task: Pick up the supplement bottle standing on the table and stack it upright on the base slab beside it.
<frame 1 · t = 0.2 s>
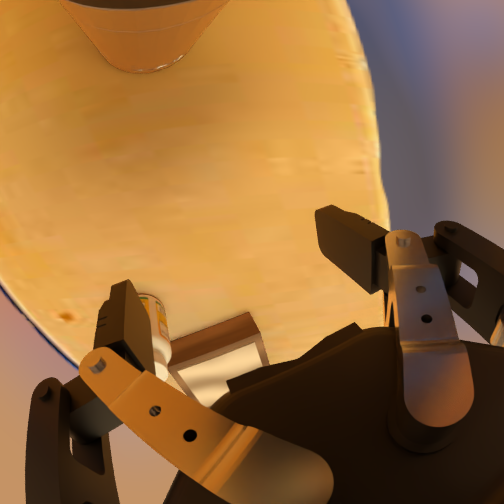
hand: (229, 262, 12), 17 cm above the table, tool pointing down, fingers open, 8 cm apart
base slab: (218, 356, 39), on the table
supplement bottle: (141, 310, 32), on the table
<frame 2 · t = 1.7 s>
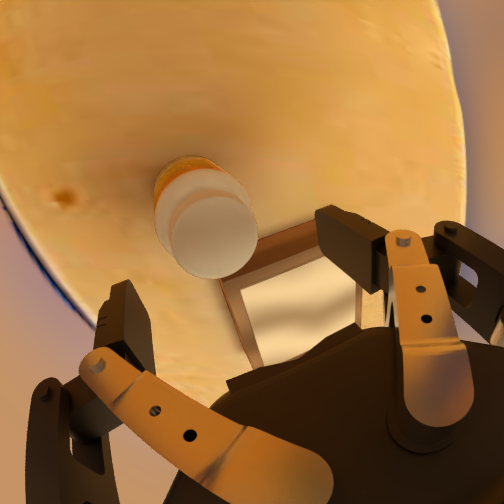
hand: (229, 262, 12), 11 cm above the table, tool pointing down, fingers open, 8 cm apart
base slab: (287, 287, 28), on the table
supplement bottle: (188, 189, 21), on the table
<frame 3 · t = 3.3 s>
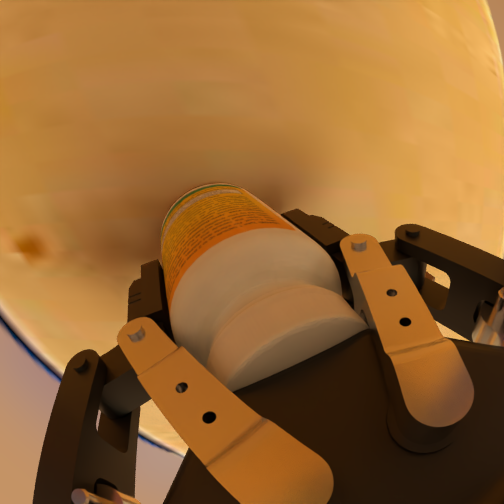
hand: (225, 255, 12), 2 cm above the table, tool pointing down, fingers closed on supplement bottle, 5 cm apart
supplement bottle: (212, 232, 14), on the table, touching gripper
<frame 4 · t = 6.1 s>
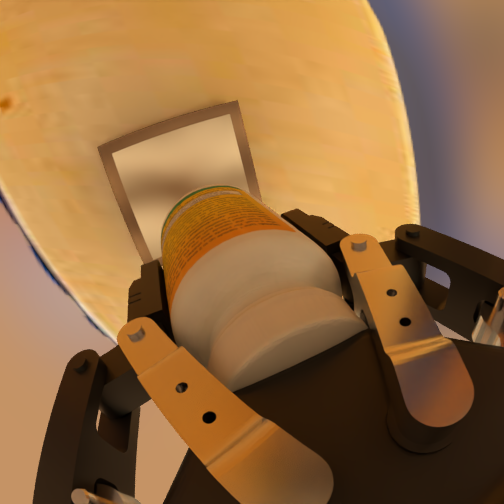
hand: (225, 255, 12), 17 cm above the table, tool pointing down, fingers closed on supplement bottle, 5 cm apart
base slab: (182, 179, 27), on the table
supplement bottle: (212, 233, 14), point 15 cm above the table, touching gripper
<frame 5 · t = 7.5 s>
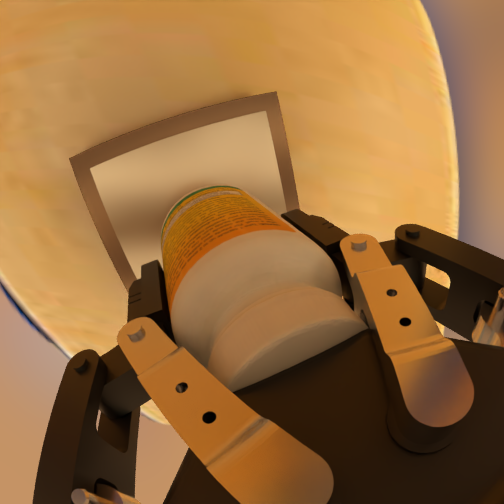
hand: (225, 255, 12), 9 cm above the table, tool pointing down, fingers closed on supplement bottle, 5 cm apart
base slab: (193, 199, 20), on the table
supplement bottle: (212, 233, 14), point 7 cm above the table, touching gripper
when the fingers open (7 cm above the table, at t = 8.8 s): supplement bottle stays where it is, resting on base slab.
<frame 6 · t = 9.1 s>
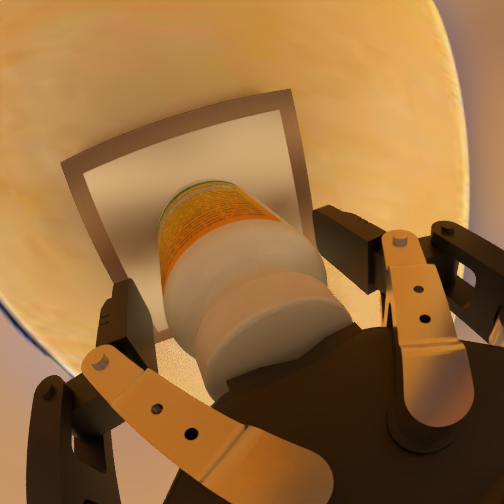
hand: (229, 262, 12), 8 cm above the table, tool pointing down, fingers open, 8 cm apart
base slab: (197, 206, 18), on the table
supplement bottle: (207, 227, 15), point 4 cm above the table, touching base slab
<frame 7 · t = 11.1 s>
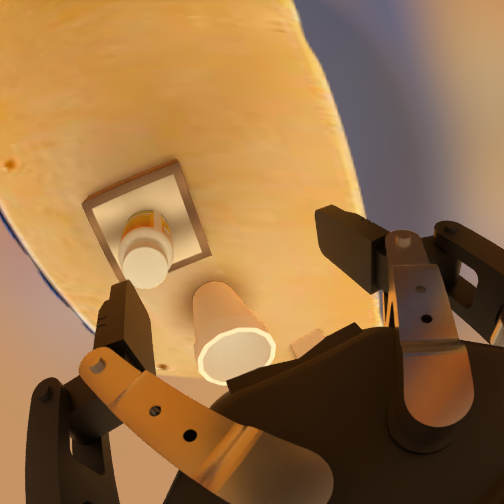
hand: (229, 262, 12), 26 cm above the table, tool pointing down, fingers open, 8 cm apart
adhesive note: (307, 344, 55), on the table
base slab: (148, 220, 35), on the table
foam cup: (213, 298, 43), on the table
supplement bottle: (146, 230, 32), point 4 cm above the table, touching base slab
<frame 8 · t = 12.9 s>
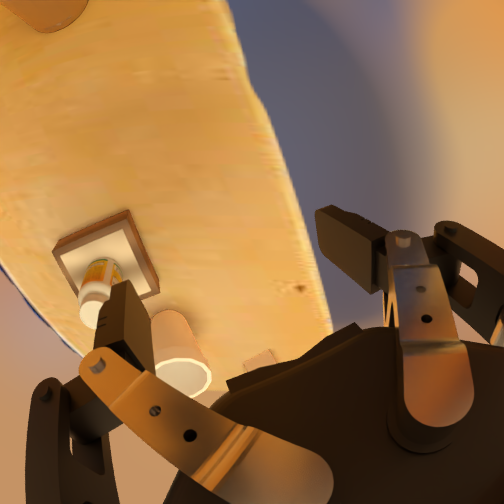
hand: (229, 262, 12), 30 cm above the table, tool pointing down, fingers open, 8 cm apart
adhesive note: (260, 362, 60), on the table
base slab: (108, 260, 40), on the table
foam cup: (168, 323, 48), on the table
supplement bottle: (104, 273, 36), point 4 cm above the table, touching base slab
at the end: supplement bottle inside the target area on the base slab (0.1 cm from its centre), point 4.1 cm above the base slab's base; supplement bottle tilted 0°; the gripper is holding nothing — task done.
